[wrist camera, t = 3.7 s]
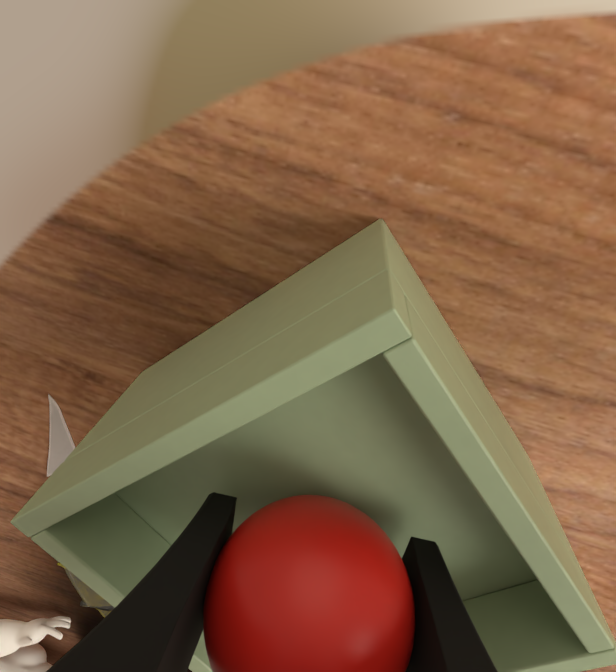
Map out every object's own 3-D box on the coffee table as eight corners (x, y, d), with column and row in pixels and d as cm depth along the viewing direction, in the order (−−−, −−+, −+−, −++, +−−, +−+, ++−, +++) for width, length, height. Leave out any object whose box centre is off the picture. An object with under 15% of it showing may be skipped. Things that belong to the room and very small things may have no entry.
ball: (439, 547, 12) (476, 776, 8) (299, 593, 13) (269, 803, 9) (345, 426, 10) (329, 627, 6) (201, 493, 12) (115, 689, 8)
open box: (528, 456, 16) (626, 663, 10) (300, 543, 19) (269, 736, 13) (381, 216, 13) (394, 307, 7) (141, 372, 16) (8, 522, 10)
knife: (120, 562, 22) (118, 567, 22) (86, 563, 22) (83, 568, 22) (56, 391, 18) (52, 395, 17) (14, 392, 18) (9, 396, 17)
